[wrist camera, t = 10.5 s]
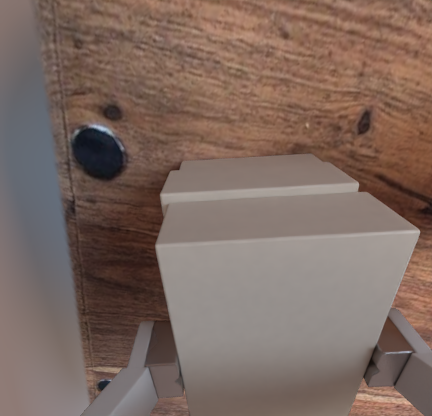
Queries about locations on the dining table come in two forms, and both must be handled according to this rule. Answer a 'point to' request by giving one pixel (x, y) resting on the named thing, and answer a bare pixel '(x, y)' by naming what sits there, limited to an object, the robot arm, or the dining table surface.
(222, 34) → the dining table surface
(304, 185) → the beige rectangular block
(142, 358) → the robot arm
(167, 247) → the beige flat block
